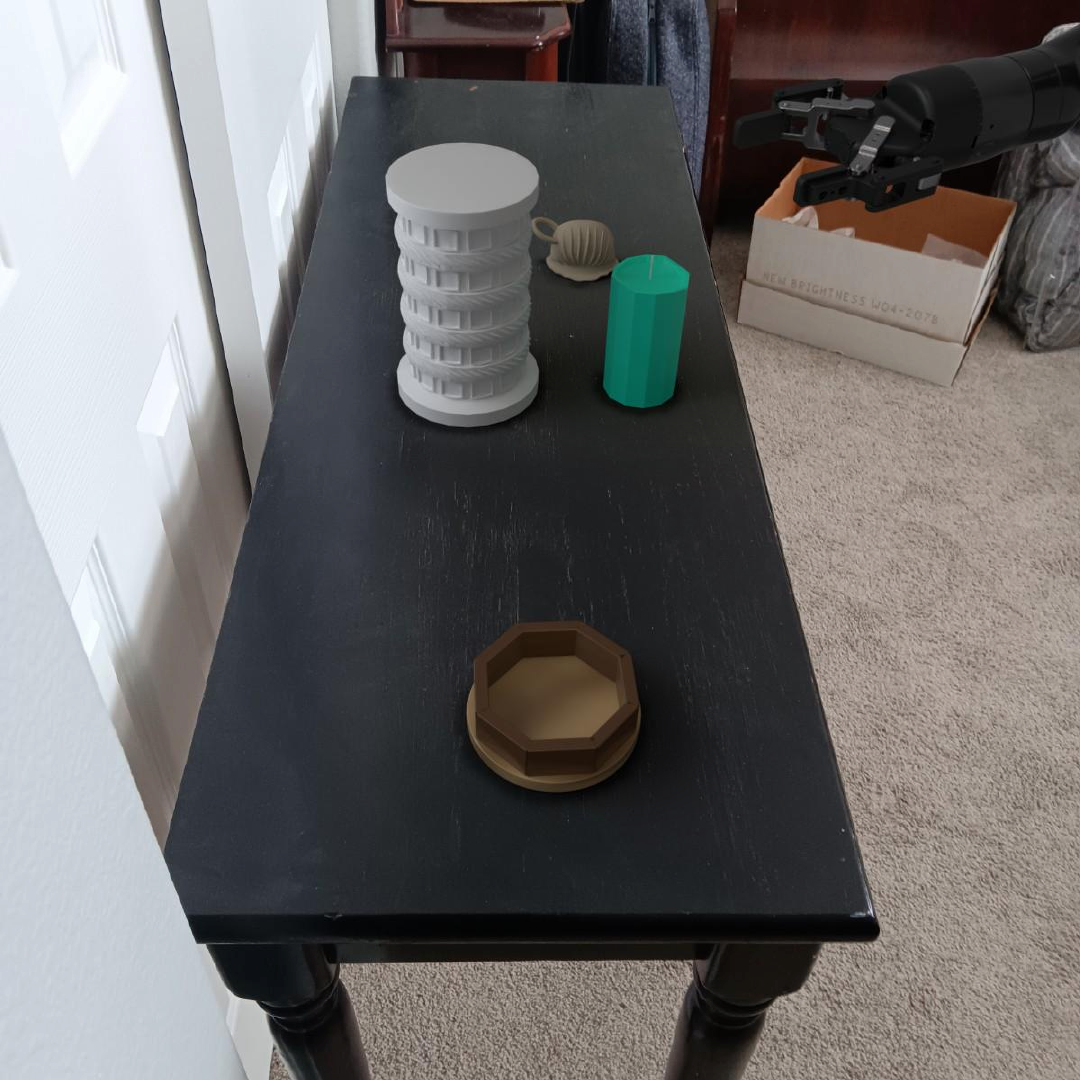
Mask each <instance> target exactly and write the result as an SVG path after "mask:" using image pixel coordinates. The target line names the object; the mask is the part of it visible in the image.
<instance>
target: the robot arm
mask: <svg viewBox="0 0 1080 1080" xmlns="http://www.w3.org/2000/svg"><path fill="white" fill-rule="evenodd" d="M845 82H846V81H845V80H844V79H843V78H839V77H833V78H826V79H821V80H815V81H811V82H806V83H801V84H795V85H789V86H785V87H784V86H783V87H780V88H775V89H774V90H773V92H772V98H771V105H770V109H769V110H763V111H760V112H755V113H751V114H747V115H742V116H741V117H739V118H737V120H736V121H735V122H734V127H733V134H732V144H733V145H734V146H735V147H736V148H737V149H738V150H745V149H749V148H752V147H757V146H761V145H765V144H769V143H774V142H778V141H780V139H781V140H788V141H797V142H802V144H803V146H804V147H805V148H807V149H810V150H820V151H826V152H828V153H829V154H831V155H833V156H836V157H837V158H838V160H839V162H840V164H838V165H833V166H829V167H826V168H821V169H818V170H814V171H809V172H806V173H803V174H802V173H801V174H800V175H799V176H798V177H797V178H796V181H795V185H794V189H793V196H792V202H794V203H795V204H796V205H797V206H798V207H799V208H806V207H809V206H820V205H823V204H827V203H831V202H836V201H839V200H843V199H844V201H847V202H850V203H855V202H858V201H860V202H863V203H864V210H865V211H866V212H869V213H873V214H877V213H881V212H885V211H887V210H890V209H894V208H897V207H900V206H903V205H906V204H909V203H913V202H916V201H919V200H922V199H926V198H928V197H931V196H934V195H936V192H937V189H938V185H939V183H940V180H941V176H942V173H943V172H948V171H951V170H956V169H959V168H963V167H967V166H971V165H975V164H979V163H982V162H985V161H987V160H990V159H992V158H995V157H997V156H999V155H1002V154H1004V153H1008V152H1011V151H1015V150H1019V149H1023V148H1027V147H1031V146H1034V145H1038V144H1042V143H1045V142H1046V143H1047V142H1049V141H1052V140H1055V139H1057V138H1059V137H1061V136H1063V135H1065V134H1066V133H1068V132H1069V131H1070V130H1071V129H1072V128H1073V127H1074V126H1075V125H1076V124H1077V122H1078V120H1079V119H1080V23H1078V24H1076V25H1075V26H1073V27H1072V28H1070V29H1069V30H1066V31H1065V32H1063V33H1061V34H1060V35H1058V36H1056V37H1054V38H1052V39H1050V40H1048V41H1046V42H1044V43H1042V44H1039V45H1037V46H1035V47H1032V48H1027V49H1023V50H1019V51H1015V52H1009V53H1006V54H1005V53H1004V54H1002V55H998V56H990V57H988V56H987V57H974V58H968V59H963V60H960V61H955V62H952V63H946V64H942V65H937V66H934V67H929V68H925V69H920V70H916V71H911V72H907V73H903V74H899V75H896V76H894V77H892V78H890V79H889V80H888V81H887V82H886V83H885V84H884V85H883V86H882V87H881V88H880V89H879V90H878V91H877V92H876V93H875V94H874V95H872V96H871V97H850V98H849V97H848V96H847V95H846V94H845V93H844V89H845ZM795 100H796V101H795ZM819 119H821V120H823V121H826V120H827V121H826V125H825V131H824V135H821V134H819V133H818V130H817V129H818V125H819ZM806 121H807V125H806V126H804V127H800V126H792V124H796V123H797V124H798V123H802V122H806ZM888 187H891V189H890V190H889V191H888V192H887V190H888Z"/></svg>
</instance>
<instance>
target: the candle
mask: <svg viewBox="0 0 1080 1080" xmlns="http://www.w3.org/2000/svg"><path fill="white" fill-rule="evenodd" d="M690 276H691V273H690V272H689V271H688V270H687V269H685V268H684V267H683V266H682V265H680V264H678V263H677V262H676V261H675V260H673V259H671V258H670V257H669V256H667V255H662V254H661V255H660V254H642V255H635V256H630V257H629V256H628V257H626V258H625V259H623V260H621V262H619V264H618V265H616V266H615V267H614V270H613V271H612V273H611V276H610V277H611V279H610V287H609V288H610V291H609V302H608V314H607V315H608V317H607V328H606V343H605V356H604V366H603V367H604V368H603V380H602V381H603V382H602V387H603V389H604V390H605V392H606V394H607V395H608V397H609V398H610V399H612V400H614V401H616V402H617V403H619V404H621V405H623V406H627V407H633V408H639V409H640V408H641V409H646V408H651V407H657V406H661V405H663V404H664V403H666V402H667V401H669V400H670V399H671V398H672V397H673V396H674V393H675V392H674V391H675V386H676V379H677V373H678V365H679V359H680V351H681V344H682V335H683V329H684V322H685V321H684V320H685V313H686V305H687V300H688V299H687V298H688V290H689V283H690Z"/></svg>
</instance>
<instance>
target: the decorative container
mask: <svg viewBox="0 0 1080 1080" xmlns="http://www.w3.org/2000/svg"><path fill="white" fill-rule="evenodd" d="M385 185H386V197H387V203H388V205H390V206H391V208H392V209H393V210H394V212H395V213H397V215H396V218H395V222H394V227H393V229H394V236H395V240H396V242H397V247H398V248H399V249H400V255H399V257H398V262H397V276H398V279H399V281H400V285H401V286H402V289H403V290H402V294H401V298H400V303H399V304H400V305H399V306H400V307H399V308H400V313H401V316H402V318H403V322H404V324H405V327H404V331H403V337H402V345H403V350H404V351H405V354H404V355H403V356H402V358H401V359H400V360H399V362H398V367H397V369H396V377H397V378H396V379H397V387H398V395H399V397H400V398H401V400H402V401H403V404H404V405H405V406H406V407H407V408H409V409H410V410H411V411H412V412H413V413H415V414H416V415H417V416H418V417H422V418H423V419H426V420H428V421H430V422H433V423H437V424H440V425H445V426H448V427H460V428H461V427H463V428H474V427H484V426H490V425H494V424H497V423H502V422H506V421H508V420H509V419H512V418H513V417H515V416H518V415H520V414H521V413H522V412H524V411H525V409H526V408H528V407H529V406H530V405H532V403H533V401H534V399H535V398H536V396H537V394H538V390H539V383H540V382H539V381H540V370H539V366H538V363H537V360H536V358H535V357H534V355H533V354H532V353H531V352H530V346H531V342H530V341H531V339H532V337H531V336H530V335H531V332H530V329H529V325H528V322H529V320H530V316H531V311H532V308H531V305H533V302H532V301H531V299H532V297H531V295H530V291H529V285H530V282H531V279H532V277H531V276H532V274H533V271H532V269H533V265H532V258H531V256H530V255H531V254H530V252H529V248H530V247H531V242H532V241H531V240H532V239H533V238H532V236H533V235H534V232H533V231H532V229H533V227H532V220H533V219H532V217H531V214H530V213H531V210H533V208H534V207H535V206H536V205H537V203H538V200H539V195H540V175H539V172H538V169H537V167H536V166H535V165H534V164H533V163H532V162H531V161H530V160H529V159H528V158H526V157H524V155H521V154H519V153H517V152H516V151H514V150H510V149H507V148H504V147H501V146H496V145H491V144H486V143H475V142H450V143H449V142H448V143H447V142H446V143H439V144H434V145H429V146H428V145H427V146H425V147H422V148H418V149H415V150H411V151H410V152H408V153H406V154H404V155H402V156H400V157H398V158H397V159H396V160H395V161H394V162H392V164H390V165H389V166H388V169H387V172H386V174H385Z"/></svg>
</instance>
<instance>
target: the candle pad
mask: <svg viewBox="0 0 1080 1080" xmlns="http://www.w3.org/2000/svg"><path fill="white" fill-rule="evenodd" d="M472 663H473V664H472V665H473V683H472V686H471V688H470V690H469V691H470V692H469V694H468V698H467V701H466V702H467V703H466V725H467V732H468V736H469V739H470V741H471V744H472V746H473V748H474V750H475V752H476V753H477V755H478V757H479V758H480V759H481V760H482V761H483V763H484V764H485V765H486V766H487V767H488V768H489V769H490V770H491V771H493V772H494V774H496V775H498V776H500V777H501V778H502V779H504V780H506V781H507V782H510V783H511V784H514V785H516V786H519V787H522V788H525V789H528V790H533V791H536V792H545V793H566V792H574V791H578V790H584V789H586V788H588V787H591V786H595V785H597V784H598V783H600V782H602V781H604V780H606V779H608V778H609V777H610V776H612V775H614V774H615V773H616V772H617V771H618V770H619V769H620V768H621V767H622V766H624V764H625V763H626V762H627V761H628V759H629V757H630V756H631V755H632V753H633V751H634V749H635V747H636V745H637V743H638V742H637V741H638V739H639V735H640V734H639V733H640V730H641V729H640V728H641V718H642V710H641V709H642V708H641V704H640V703H641V702H640V698H639V692H638V686H637V681H636V676H635V669H634V664H633V657H632V654H631V653H630V651H628V650H627V649H626V648H624V647H622V646H620V644H617V643H616V642H614V641H613V640H611V639H610V638H608V637H607V636H605V635H604V634H602V633H601V632H599V631H598V630H596V629H595V628H593V627H591V626H590V625H589V624H587V623H585V622H584V621H581V620H559V621H557V620H556V621H532V622H531V621H530V622H528V621H527V622H518V623H515V624H513V626H511V627H510V628H509V629H508V630H506V631H505V632H504V633H503V634H501V636H500V637H498V638H497V639H496V640H495V641H494V642H492V643H491V644H489V646H488V647H486V648H485V649H484V650H483V651H482V652H481V653H479V654H478V655H477V656H476V657H475V658H473V662H472Z"/></svg>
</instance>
